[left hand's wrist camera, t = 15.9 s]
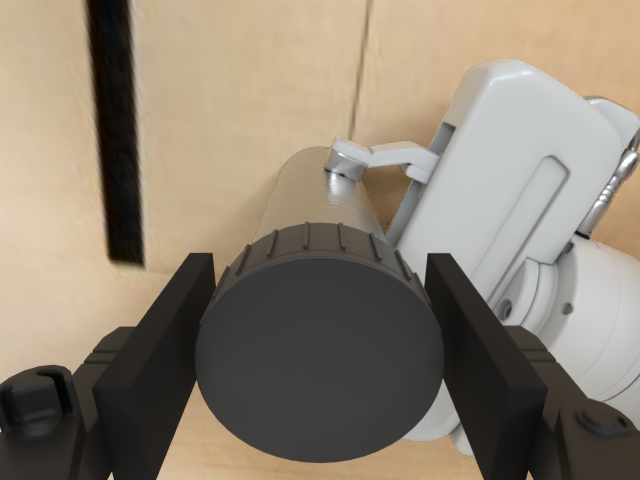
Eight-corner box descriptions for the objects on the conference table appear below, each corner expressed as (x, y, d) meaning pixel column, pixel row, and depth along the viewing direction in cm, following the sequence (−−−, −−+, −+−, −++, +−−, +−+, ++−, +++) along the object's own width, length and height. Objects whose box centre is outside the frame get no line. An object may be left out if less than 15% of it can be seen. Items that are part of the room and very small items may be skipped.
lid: (460, 350, 13) (488, 406, 11) (286, 430, 14) (280, 495, 12) (362, 177, 11) (373, 202, 9) (169, 287, 12) (137, 333, 10)
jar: (291, 237, 28) (255, 451, 12) (266, 159, 27) (183, 292, 10) (370, 216, 28) (440, 411, 12) (350, 135, 26) (400, 236, 10)
